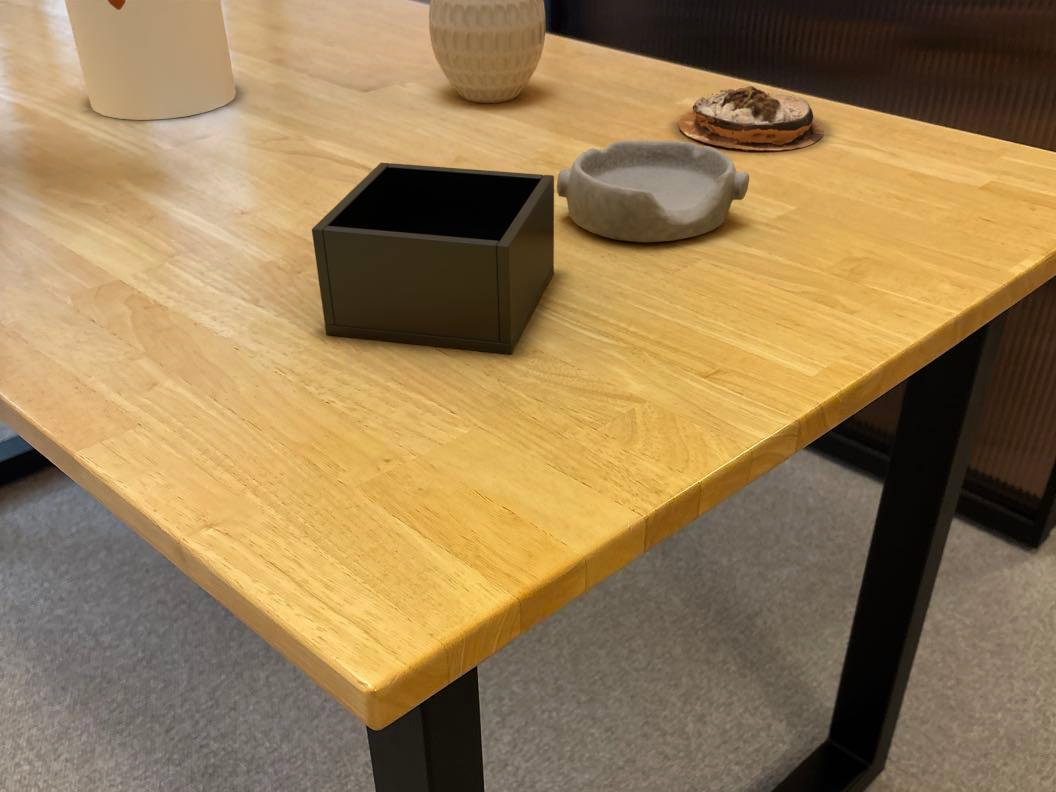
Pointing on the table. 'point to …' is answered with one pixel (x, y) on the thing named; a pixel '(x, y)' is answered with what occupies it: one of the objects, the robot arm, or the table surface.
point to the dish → (651, 190)
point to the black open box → (437, 256)
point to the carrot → (117, 3)
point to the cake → (752, 121)
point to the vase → (487, 45)
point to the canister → (153, 57)
